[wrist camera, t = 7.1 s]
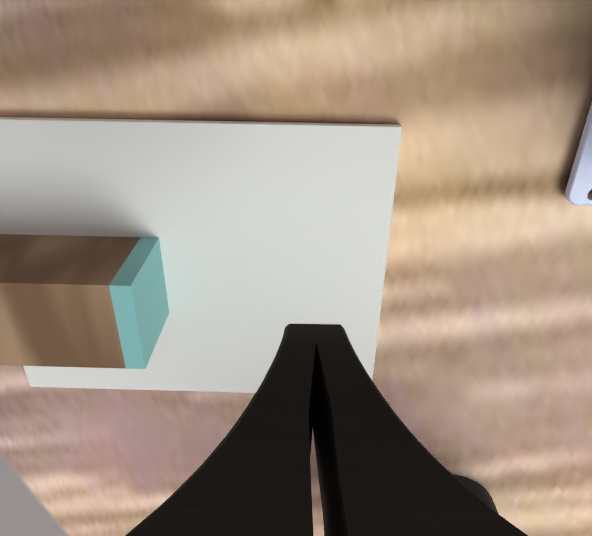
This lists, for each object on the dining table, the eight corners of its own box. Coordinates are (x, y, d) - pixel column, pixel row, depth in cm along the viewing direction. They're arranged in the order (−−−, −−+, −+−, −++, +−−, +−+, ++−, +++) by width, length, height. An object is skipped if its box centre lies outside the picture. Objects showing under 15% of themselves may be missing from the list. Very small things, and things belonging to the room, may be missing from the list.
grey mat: (400, 124, 20) (401, 127, 19) (369, 390, 27) (370, 396, 26) (-54, 115, 20) (-61, 118, 20) (33, 381, 27) (30, 386, 27)
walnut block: (130, 285, 18) (-111, 280, 19) (145, 369, 20) (-73, 363, 21) (159, 237, 22) (-45, 233, 22) (169, 312, 24) (-17, 307, 24)
